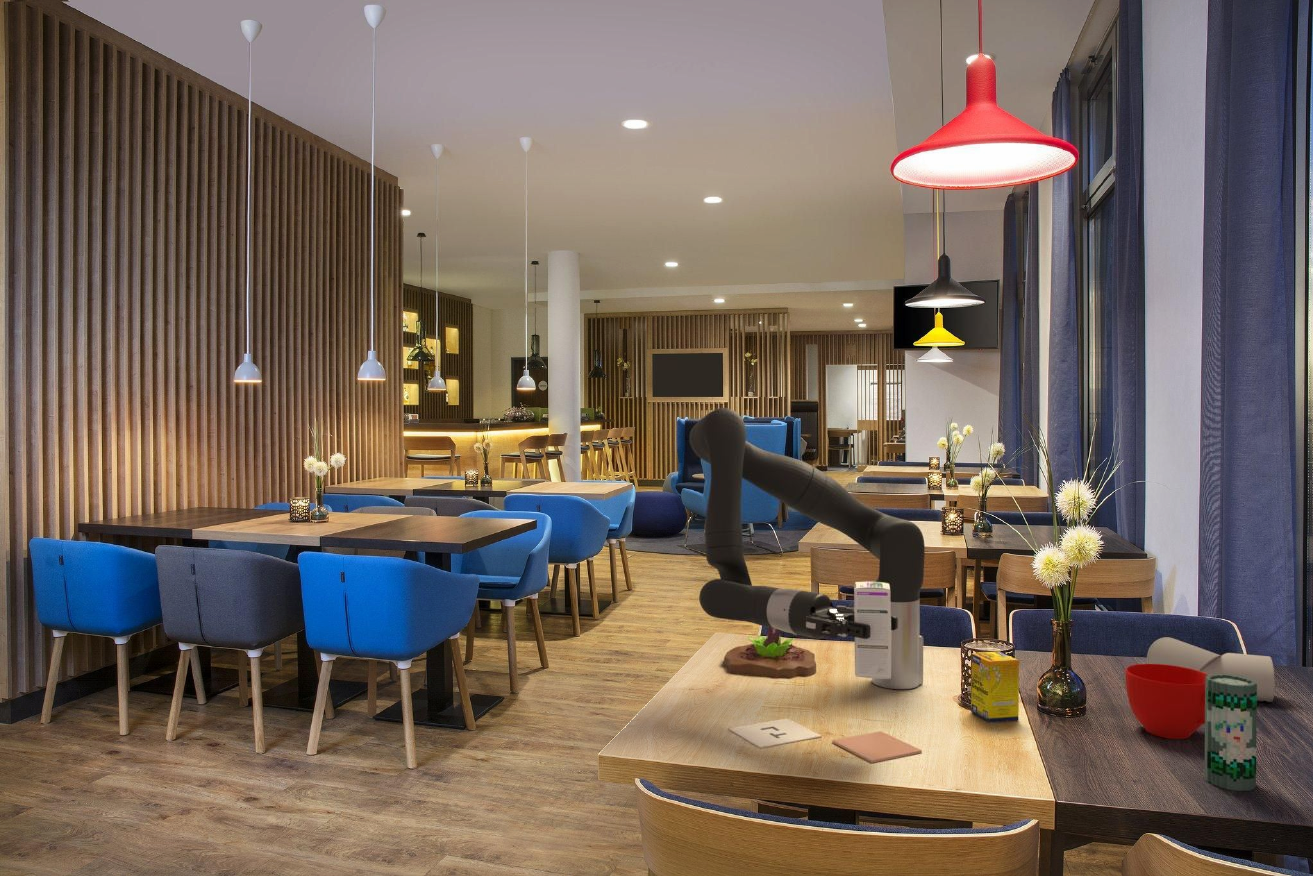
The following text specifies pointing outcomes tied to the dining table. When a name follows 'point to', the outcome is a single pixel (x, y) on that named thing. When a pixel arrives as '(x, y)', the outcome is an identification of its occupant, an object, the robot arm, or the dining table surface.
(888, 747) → the coaster
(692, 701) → the dining table surface
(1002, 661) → the supplement box
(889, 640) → the syrup box
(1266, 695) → the elbow connector
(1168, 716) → the ceramic cup
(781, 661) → the plant
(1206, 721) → the can
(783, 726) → the white square plate
